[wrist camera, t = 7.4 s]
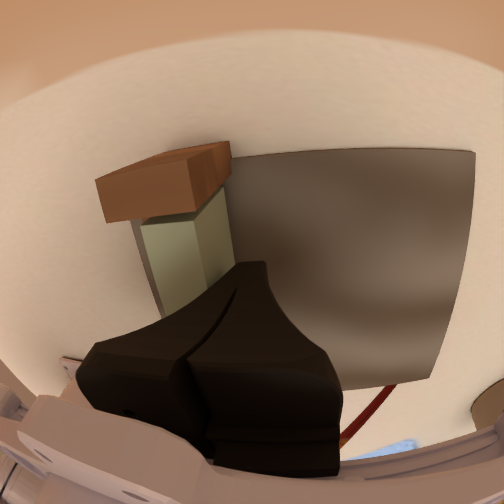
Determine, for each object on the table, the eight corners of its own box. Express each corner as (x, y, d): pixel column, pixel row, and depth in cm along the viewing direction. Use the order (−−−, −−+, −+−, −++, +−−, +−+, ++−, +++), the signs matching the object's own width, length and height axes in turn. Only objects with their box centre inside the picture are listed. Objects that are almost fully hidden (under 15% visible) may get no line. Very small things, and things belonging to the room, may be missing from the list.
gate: (250, 359, 16) (240, 418, 13) (220, 359, 16) (204, 415, 13) (223, 186, 12) (193, 221, 8) (183, 191, 12) (140, 225, 9)
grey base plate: (427, 374, 17) (447, 436, 12) (193, 386, 20) (172, 449, 15) (471, 135, 10) (548, 156, 5) (120, 162, 13) (44, 194, 8)
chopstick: (399, 377, 18) (402, 387, 17) (296, 483, 29) (295, 489, 28) (377, 375, 18) (379, 385, 17) (281, 481, 29) (281, 488, 28)
